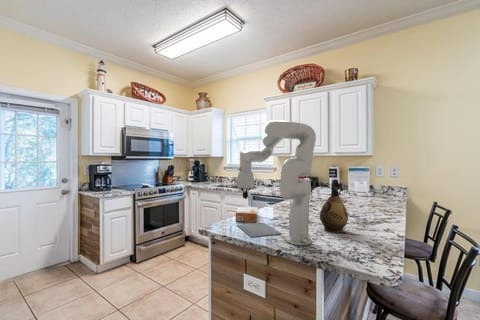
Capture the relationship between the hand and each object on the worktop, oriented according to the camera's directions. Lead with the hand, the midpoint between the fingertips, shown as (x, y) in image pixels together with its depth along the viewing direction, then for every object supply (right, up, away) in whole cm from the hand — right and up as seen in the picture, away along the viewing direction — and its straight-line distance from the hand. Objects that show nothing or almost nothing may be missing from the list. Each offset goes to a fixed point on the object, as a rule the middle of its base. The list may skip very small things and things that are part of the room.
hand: (245, 198), depth 151 cm
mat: (+7, -16, -14) cm, 23 cm away
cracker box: (0, -13, +2) cm, 13 cm away
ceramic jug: (+52, -17, -11) cm, 56 cm away
